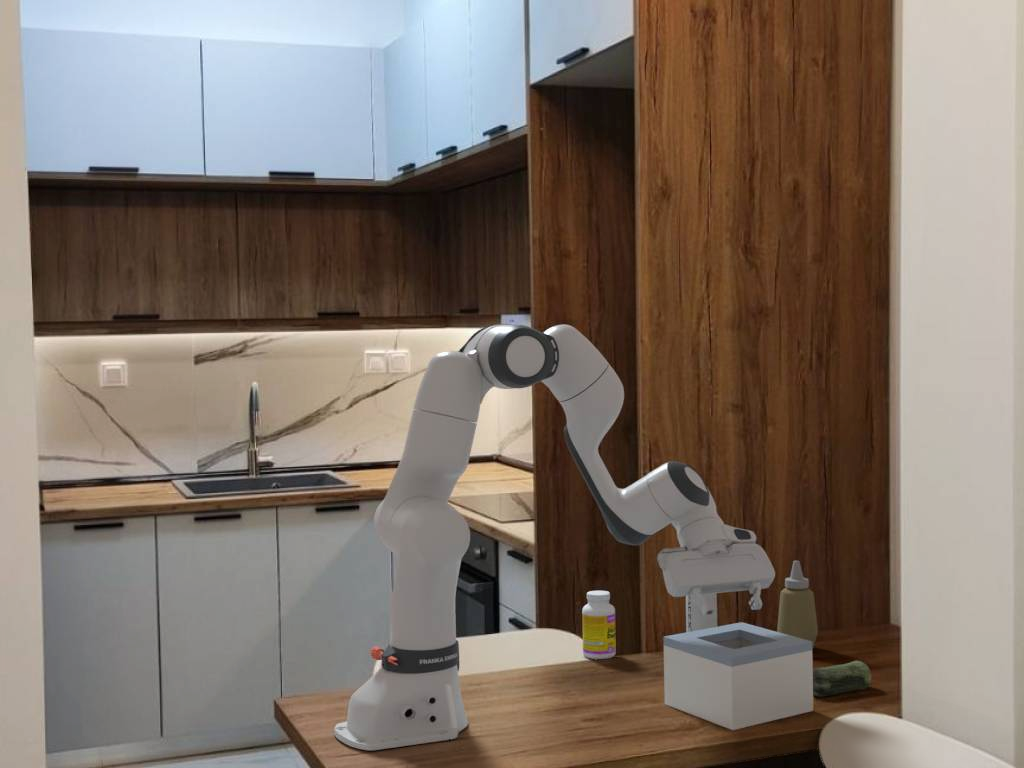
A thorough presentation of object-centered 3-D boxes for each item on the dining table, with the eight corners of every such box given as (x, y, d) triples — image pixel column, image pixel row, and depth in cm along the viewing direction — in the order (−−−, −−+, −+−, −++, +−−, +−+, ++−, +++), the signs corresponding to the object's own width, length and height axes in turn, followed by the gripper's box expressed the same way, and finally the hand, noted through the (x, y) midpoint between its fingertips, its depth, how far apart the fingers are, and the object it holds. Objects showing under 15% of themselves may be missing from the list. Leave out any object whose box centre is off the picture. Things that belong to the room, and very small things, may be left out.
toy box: (732, 730, 215) (731, 657, 214) (664, 704, 230) (663, 636, 230) (813, 710, 224) (812, 641, 224) (742, 687, 240) (741, 622, 239)
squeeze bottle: (786, 655, 261) (784, 565, 260) (771, 645, 269) (770, 558, 268) (824, 652, 262) (823, 563, 261) (809, 643, 270) (807, 556, 269)
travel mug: (716, 644, 271) (714, 548, 270) (718, 652, 264) (716, 554, 263) (686, 644, 272) (684, 548, 271) (687, 652, 265) (685, 554, 264)
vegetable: (857, 683, 241) (857, 656, 241) (877, 690, 236) (877, 662, 236) (797, 694, 235) (796, 666, 235) (816, 701, 230) (815, 673, 230)
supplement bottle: (610, 661, 260) (609, 597, 260) (578, 658, 263) (577, 595, 262) (619, 652, 266) (618, 590, 266) (588, 650, 269) (587, 588, 268)
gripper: (659, 539, 230) (684, 605, 222) (762, 531, 237) (791, 594, 228) (648, 560, 235) (673, 625, 226) (750, 551, 241) (778, 615, 233)
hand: (733, 610), depth 227 cm, fingers open, 8 cm apart
